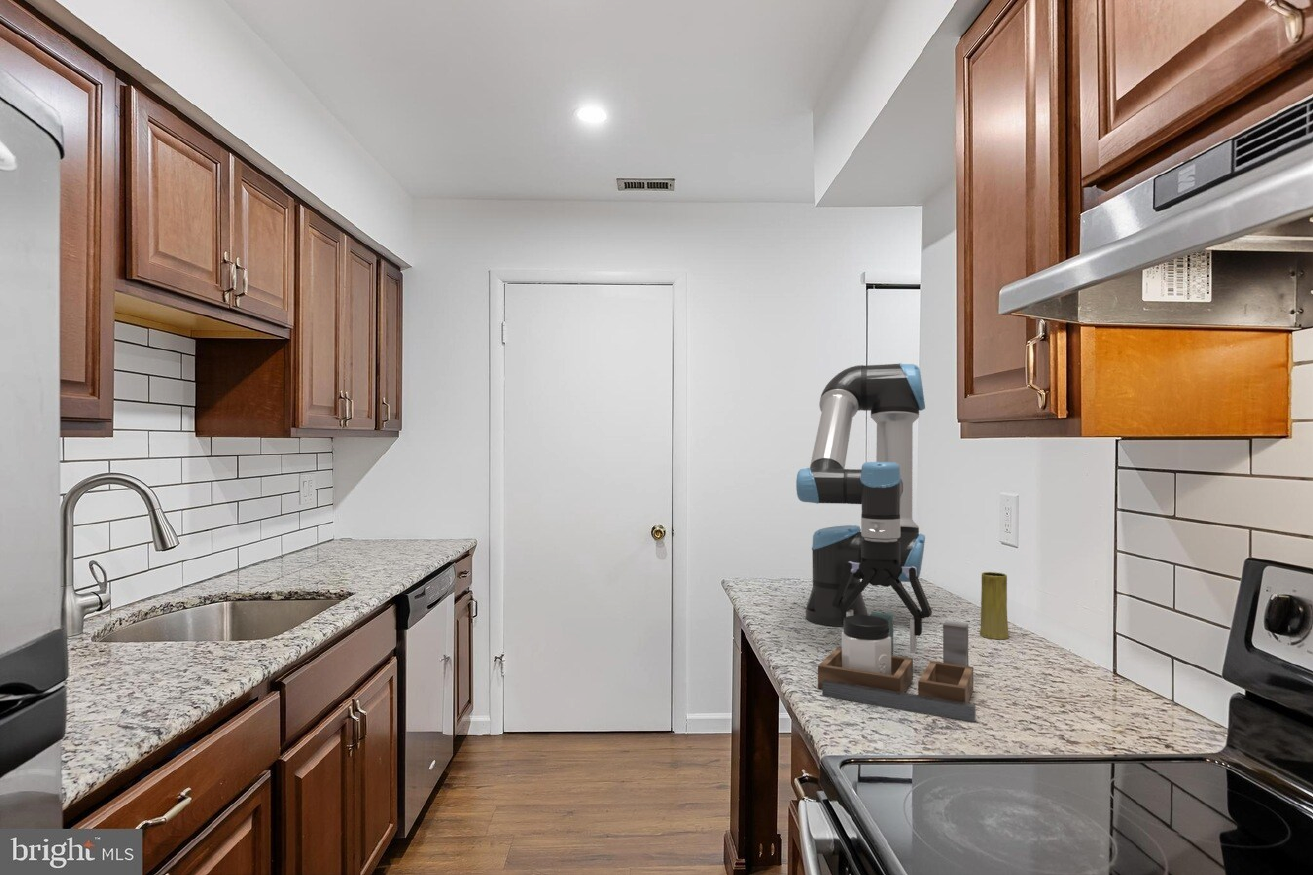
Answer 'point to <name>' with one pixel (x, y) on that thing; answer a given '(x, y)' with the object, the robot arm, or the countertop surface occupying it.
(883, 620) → the jar
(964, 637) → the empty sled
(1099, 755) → the countertop surface
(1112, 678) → the countertop surface
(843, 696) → the end bar
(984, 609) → the vase
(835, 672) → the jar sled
